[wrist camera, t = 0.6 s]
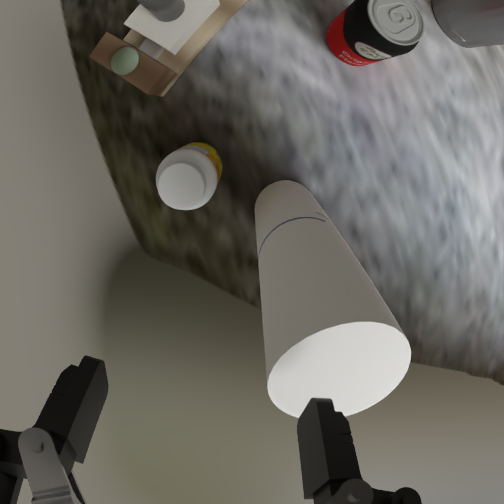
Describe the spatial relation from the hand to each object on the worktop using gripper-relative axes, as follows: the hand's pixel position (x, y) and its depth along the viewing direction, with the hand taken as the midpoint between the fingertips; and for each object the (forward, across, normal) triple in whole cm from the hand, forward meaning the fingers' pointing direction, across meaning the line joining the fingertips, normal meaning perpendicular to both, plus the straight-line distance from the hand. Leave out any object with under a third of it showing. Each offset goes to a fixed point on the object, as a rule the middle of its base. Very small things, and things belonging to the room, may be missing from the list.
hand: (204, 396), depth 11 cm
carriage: (+24, +10, -19) cm, 32 cm away
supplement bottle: (+27, +5, -2) cm, 28 cm away
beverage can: (+28, -9, -21) cm, 36 cm away
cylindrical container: (+27, -6, +1) cm, 28 cm away
